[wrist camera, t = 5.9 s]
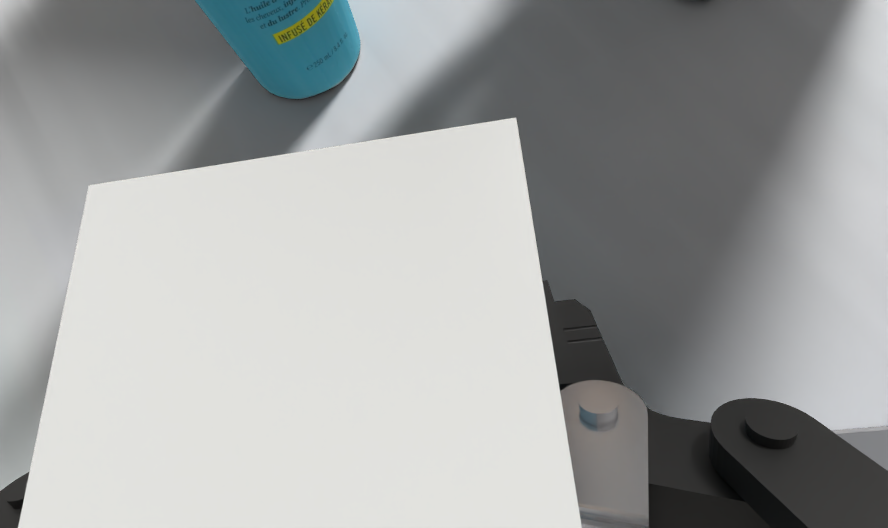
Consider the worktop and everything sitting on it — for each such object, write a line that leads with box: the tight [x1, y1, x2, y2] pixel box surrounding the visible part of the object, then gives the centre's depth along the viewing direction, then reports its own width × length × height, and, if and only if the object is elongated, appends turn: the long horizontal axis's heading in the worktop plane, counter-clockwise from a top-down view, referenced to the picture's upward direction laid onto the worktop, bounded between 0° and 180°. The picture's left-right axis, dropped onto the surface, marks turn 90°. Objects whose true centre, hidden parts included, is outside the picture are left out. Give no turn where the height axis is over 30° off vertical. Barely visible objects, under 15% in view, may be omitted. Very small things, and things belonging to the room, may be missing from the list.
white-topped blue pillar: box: [18, 118, 582, 528], centre depth 10 cm, size 4×4×12 cm
